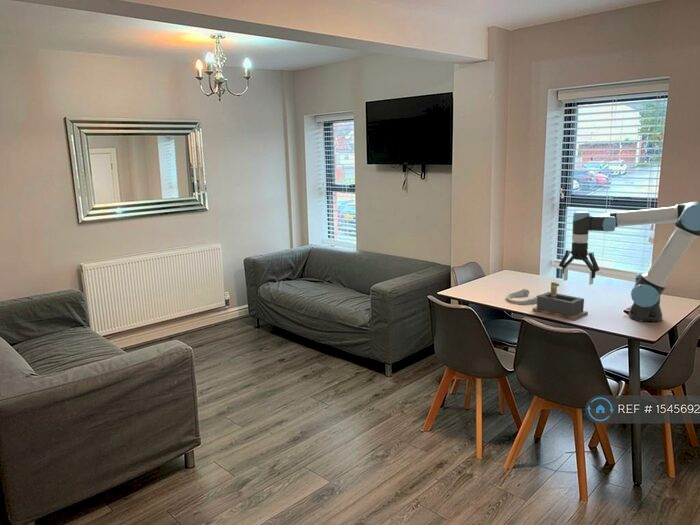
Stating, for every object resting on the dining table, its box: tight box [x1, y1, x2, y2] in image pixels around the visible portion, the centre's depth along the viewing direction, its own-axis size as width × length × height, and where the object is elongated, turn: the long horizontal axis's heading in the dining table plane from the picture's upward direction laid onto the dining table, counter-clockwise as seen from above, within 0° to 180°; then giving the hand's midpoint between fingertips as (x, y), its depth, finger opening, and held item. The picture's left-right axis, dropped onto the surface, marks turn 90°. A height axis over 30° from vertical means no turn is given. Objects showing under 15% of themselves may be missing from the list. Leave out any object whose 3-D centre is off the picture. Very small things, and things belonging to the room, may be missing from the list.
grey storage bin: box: [536, 291, 585, 316], centre depth 280 cm, size 20×12×7 cm, turn 40°
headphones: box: [506, 288, 540, 305], centre depth 306 cm, size 18×17×5 cm
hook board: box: [531, 281, 589, 321], centre depth 279 cm, size 24×14×16 cm, turn 40°
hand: (578, 282), depth 270 cm, fingers open, 13 cm apart
